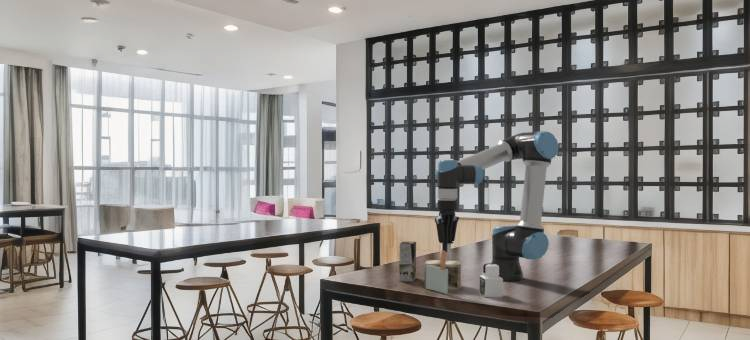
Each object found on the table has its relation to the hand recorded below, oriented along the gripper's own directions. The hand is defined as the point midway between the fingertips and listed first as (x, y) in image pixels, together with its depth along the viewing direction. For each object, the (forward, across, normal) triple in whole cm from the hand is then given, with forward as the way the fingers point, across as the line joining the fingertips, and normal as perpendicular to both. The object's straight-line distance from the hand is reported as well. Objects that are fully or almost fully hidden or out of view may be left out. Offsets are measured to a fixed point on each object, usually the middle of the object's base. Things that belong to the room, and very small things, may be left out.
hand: (446, 260), depth 220 cm
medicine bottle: (+13, -8, +15) cm, 21 cm away
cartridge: (+13, -8, -7) cm, 17 cm away
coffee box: (+13, -9, -27) cm, 32 cm away
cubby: (+13, -8, -7) cm, 17 cm away
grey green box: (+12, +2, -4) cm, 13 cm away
